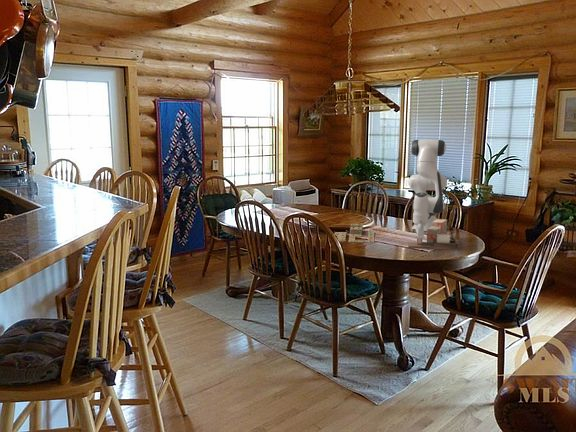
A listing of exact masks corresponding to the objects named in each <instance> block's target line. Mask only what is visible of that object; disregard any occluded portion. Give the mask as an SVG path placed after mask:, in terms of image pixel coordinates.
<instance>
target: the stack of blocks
mask: <svg viewBox="0 0 576 432" xmlns="http://www.w3.org/2000/svg"><path fill="white" fill-rule="evenodd" d="M447 231H448V219H445V218H444V219H443V218H437V219H436V220H435V221H433V222H432V227H430V228H428V229H427V231H426V242H433V239H437V234H446V235H448V234H447Z"/></svg>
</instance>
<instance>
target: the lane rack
mask: <svg viewBox="0 0 576 432" xmlns="http://www.w3.org/2000/svg"><path fill="white" fill-rule="evenodd" d="M433 242H434V244H422V245H417V241H407V246H408V249H420V248H421V249H423V250H424V249H425V250H447V251H449V250H450V251H458V250H459V240H458V238H457V237H454V238H453V239H450V243H437V239H433Z"/></svg>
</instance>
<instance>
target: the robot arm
mask: <svg viewBox="0 0 576 432" xmlns="http://www.w3.org/2000/svg"><path fill="white" fill-rule="evenodd" d="M446 144H447V143H446V142H445V141H444V140H443V139H435V138H434V139H431V138H430V139H429V138H428V139H413V141H411V144H410V148H409V149H410V152H411V154H412V155H413V156H414V157H417V161H416V172H417V173H416V174H412V175H410V177H409V178H408V186H409V188H410V189H411V190H412V191H414V193H415V194H414V199H412V210H413V213H412V223H414V224H413V225H412V226H411V229H412V230H415V232H416V236H417V237H418V243H421V239H422V240H423V239H424V237H425V232H427V229H428V228H430V227H432V222H433V221H435V220H436V219H438V218H437V217H436V214H437V215H438V214H441V213H442V212H444V211H445V207H446V206H445V201H444V196H443V190H445V188H446V186H447V185H448V180H447V178H446V176H445V175H444V174H442V173H441V171H439V169H438V157H443V155H445V153H446V150H447V145H446ZM427 191H435V196H434V197H433V196H432V195H430V194H428V192H427ZM417 237H416V238H417Z"/></svg>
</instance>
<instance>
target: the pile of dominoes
mask: <svg viewBox="0 0 576 432" xmlns="http://www.w3.org/2000/svg"><path fill="white" fill-rule="evenodd" d="M363 225H364V224H363V223H351V224H350V229H349V236H348V243H365V244H366V243H368V244H369V243H370V244H374V243H375V231H374V230H368V231H367V240H365V239H364V240H362V239H361V240H359V239H358V240H357V239H356V237H359V238H360V237H362V236H363V229H364V227H363ZM351 226H356V227H354V228H353V227H351ZM347 234H348V231H347V232H335V231H334V235H336V236H337V238H338V240H339V241H338V242H346V241H347Z"/></svg>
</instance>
